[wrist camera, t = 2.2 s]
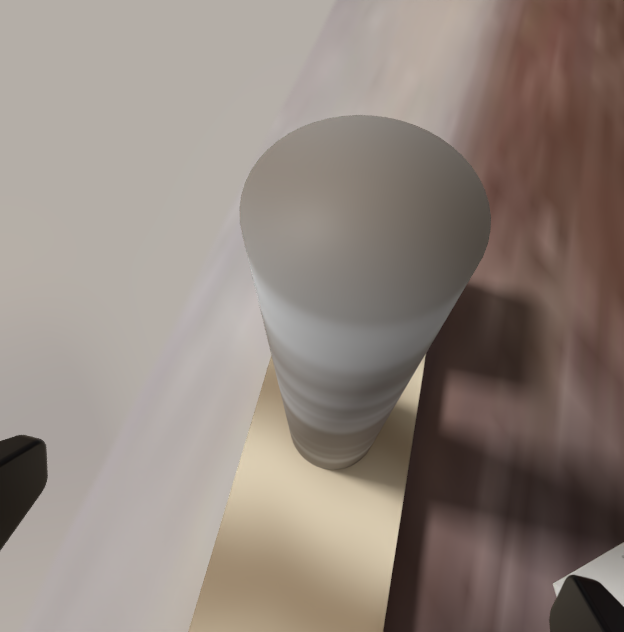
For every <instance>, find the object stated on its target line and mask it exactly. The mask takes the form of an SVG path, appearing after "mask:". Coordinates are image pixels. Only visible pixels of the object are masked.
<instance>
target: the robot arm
mask: <svg viewBox="0 0 624 632" xmlns="http://www.w3.org/2000/svg"><path fill="white" fill-rule="evenodd" d="M47 476H48V475H47V452H46V444H45V442H44V441H43V440H41V439H39V438H34V437H31V436H27V435H18V436H15V437H12V438H9V439H5V440H2V441H0V550H1V549H2V548H3V546H4V545H5V543H6V542H7V541H8V539H9V538H10V536H11V535H12V533H13V532H14V531H15V529H16V528H17V526H18V525H19V524H20V522H21V521H22V519H23V518H24V517H25V515H26V514H27V512H28V511H29V510H30V508H31V507H32V505H33V504H34V502H35V501H36V500H37V498H38V497H39V495H40V494H41V493H42V491H43V489H44V487H45V485H46V482H47ZM549 621H550V632H624V606H623V605H622V604H621V603H620V602H619V601H618V600H617V599H616V598H615V597H614V596H613V595H612V594H611V593H610V592H609V591H608V590H607V589H606V588H605V587H604V586H603V585H602V584H601V583H600V582H598V581H596V580H594V579H590V578H586V577H582V576H578V575H569V576H568V577H567V578H566V579H565V581H564V583H563V585H562V587H561V589H560V592H559V594H558V596H557V598H556V600H555V602H554V604H553V606H552V609H551V612H550V619H549Z"/></svg>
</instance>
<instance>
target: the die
mask: <svg viewBox="0 0 624 632" xmlns="http://www.w3.org/2000/svg"><path fill="white" fill-rule="evenodd" d="M569 575H578V576H582V577H586V578H590V579H594V580H596V581H598V582H600V583H601V584H602V585H603V586H604V587H605V588H606V589H607V590H608V591H609V592H610V593H611V594H612V595H613V596H614V597H615V598H616V599H617V600H618V601H619V602H620V603H621V604H622V605H623V606H624V542H623V543H622V544H620V545H618V546H616V547H615V548H613V549H611V550H610V551H608V552H606V553H605V554H603V555H601V556H599V557H598V558H596V559H594V560H593V561H591V562H589V563H587V564H586V565H584V566H582V567H581V568H579V569H577V570H576V571H574V572H572V573H570V574H569ZM569 575H567V576H565V577H564V578H562V579H560V580H558V581H557V582H555V583H553V586H554V590H555V594H556V597H557V596H558V594H559V592H560V589H561V587H562V585H563V583H564V581H565V579H566V578H567V577H568V576H569Z"/></svg>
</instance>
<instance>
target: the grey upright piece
mask: <svg viewBox="0 0 624 632" xmlns="http://www.w3.org/2000/svg"><path fill="white" fill-rule="evenodd" d="M240 225H241V230H242V235H243V239H244V243H245V248H246V252H247V256H248V260H249V264H250V268H251V272H252V277H253V281H254V285H255V289H256V293H257V297H258V301H259V306H260V310H261V314H262V318H263V322H264V326H265V330H266V334H267V339H268V343H269V347H270V351H271V359H270V362H269V365H268V368H267V372H266V375H265V378H264V382H263V385H262V388H261V392H260V395H259V398H258V402H257V405H256V408H255V412H254V415H253V418H252V422H251V425H250V428H249V432H248V435H247V438H246V442H245V445H244V448H243V452H242V455H241V458H240V462H239V465H238V468H237V472H236V475H235V478H234V482H233V485H232V488H231V492H230V495H229V498H228V502H227V505H226V508H225V511H224V515H223V518H222V521H221V525H220V528H219V531H218V535H217V538H216V541H215V545H214V548H213V551H212V555H211V558H210V561H209V565H208V568H207V571H206V575H205V578H204V581H203V585H202V588H201V591H200V595H199V598H198V601H197V605H196V608H195V611H194V615H193V618H192V621H191V625H190V628H189V631H188V632H383V628H384V621H385V615H386V609H387V602H388V596H389V589H390V583H391V576H392V570H393V563H394V557H395V550H396V544H397V537H398V531H399V525H400V518H401V512H402V505H403V499H404V492H405V486H406V479H407V473H408V466H409V460H410V453H411V447H412V441H413V434H414V428H415V421H416V415H417V408H418V402H419V395H420V389H421V382H422V376H423V369H424V363H425V357H426V352H427V351H428V349H429V347H430V346H431V344H432V342H433V341H434V339H435V337H436V336H437V334H438V332H439V330H440V329H441V327H442V325H443V324H444V322H445V320H446V319H447V317H448V315H449V314H450V312H451V310H452V308H453V307H454V305H455V303H456V302H457V300H458V298H459V297H460V295H461V293H462V292H463V290H464V288H465V286H466V285H467V283H468V281H469V280H470V278H471V276H472V275H473V273H474V271H475V270H476V268H477V266H478V264H479V263H480V261H481V259H482V257H483V255H484V252H485V250H486V247H487V244H488V240H489V235H490V225H491V215H490V208H489V202H488V199H487V195H486V192H485V189H484V187H483V185H482V183H481V181H480V179H479V177H478V175H477V174H476V172H475V171H474V169H473V168H472V166H471V165H470V164H469V163H468V162H467V161H466V159H465V158H464V157H463V156H462V155H461V154H460V153H459V152H458V151H457V150H455V149H454V148H453V147H452V146H451V145H449V144H448V143H447V142H445V141H444V140H442V139H441V138H439V137H438V136H436V135H434V134H432V133H431V132H429V131H427V130H424V129H422V128H420V127H418V126H415V125H413V124H409V123H406V122H403V121H400V120H395V119H391V118H386V117H378V116H365V115H353V116H341V117H335V118H329V119H325V120H321V121H317V122H314V123H311V124H309V125H306V126H303V127H301V128H299V129H297V130H295V131H293V132H291V133H289V134H288V135H286V136H285V137H283V138H282V139H280V140H279V141H277V142H276V143H275V144H274V145H273V146H271V147H270V148H269V149H268V150H267V151H266V152H265V153H264V154H263V155H262V156H261V158H260V159H259V160H258V161H257V163H256V164H255V166H254V167H253V169H252V170H251V172H250V174H249V176H248V178H247V180H246V182H245V185H244V188H243V192H242V195H241V202H240Z"/></svg>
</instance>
